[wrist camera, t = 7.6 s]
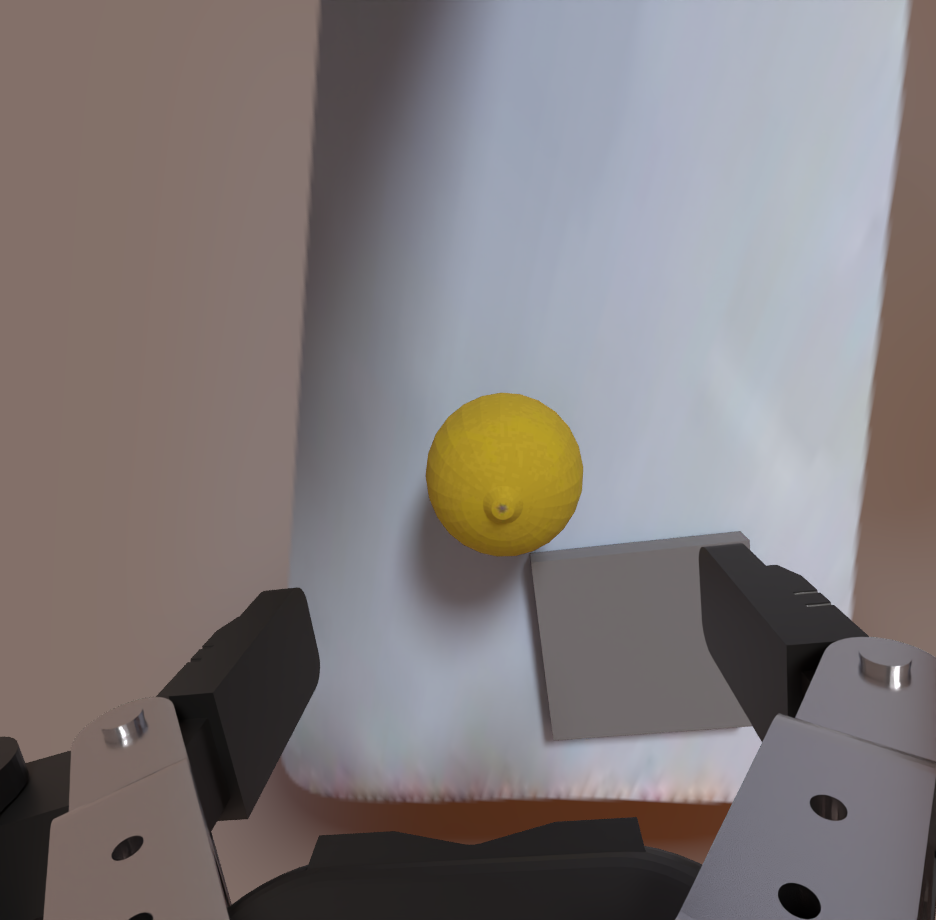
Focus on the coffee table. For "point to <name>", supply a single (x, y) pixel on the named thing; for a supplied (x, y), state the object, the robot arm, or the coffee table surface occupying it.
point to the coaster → (630, 640)
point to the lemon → (504, 474)
